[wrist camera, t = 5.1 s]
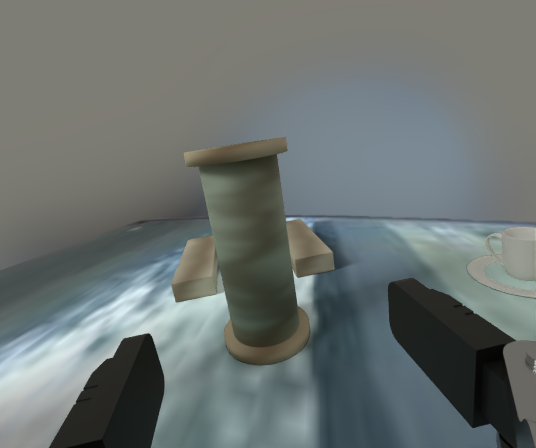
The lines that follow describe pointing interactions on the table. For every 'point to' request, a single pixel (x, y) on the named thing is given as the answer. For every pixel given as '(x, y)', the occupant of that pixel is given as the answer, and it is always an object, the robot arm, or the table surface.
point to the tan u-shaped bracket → (206, 261)
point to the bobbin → (253, 249)
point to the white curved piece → (510, 260)
